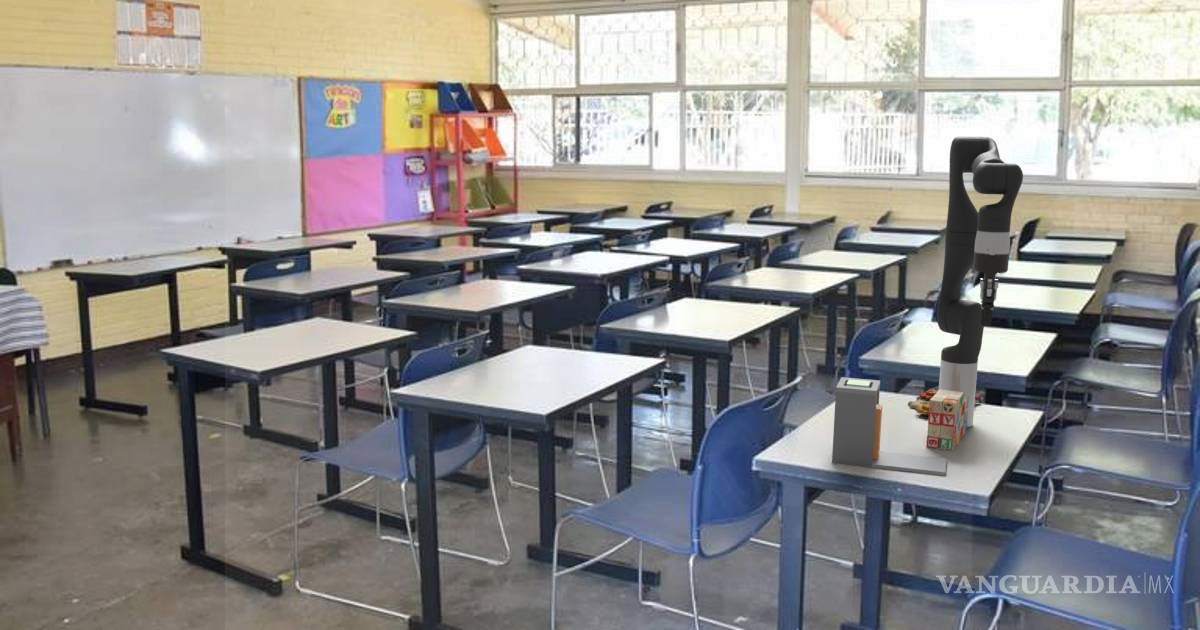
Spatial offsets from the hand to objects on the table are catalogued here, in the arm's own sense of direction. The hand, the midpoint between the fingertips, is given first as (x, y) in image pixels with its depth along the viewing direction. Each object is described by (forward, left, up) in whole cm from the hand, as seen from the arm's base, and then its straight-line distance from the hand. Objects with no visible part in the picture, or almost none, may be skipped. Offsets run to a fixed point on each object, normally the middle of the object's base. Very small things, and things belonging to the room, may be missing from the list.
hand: (985, 325), depth 240 cm
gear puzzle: (-47, -9, -32) cm, 58 cm away
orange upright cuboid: (+12, -26, -32) cm, 43 cm away
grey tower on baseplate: (+12, -19, -32) cm, 39 cm away
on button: (+12, -27, -19) cm, 35 cm away
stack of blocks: (-15, -7, -32) cm, 36 cm away
